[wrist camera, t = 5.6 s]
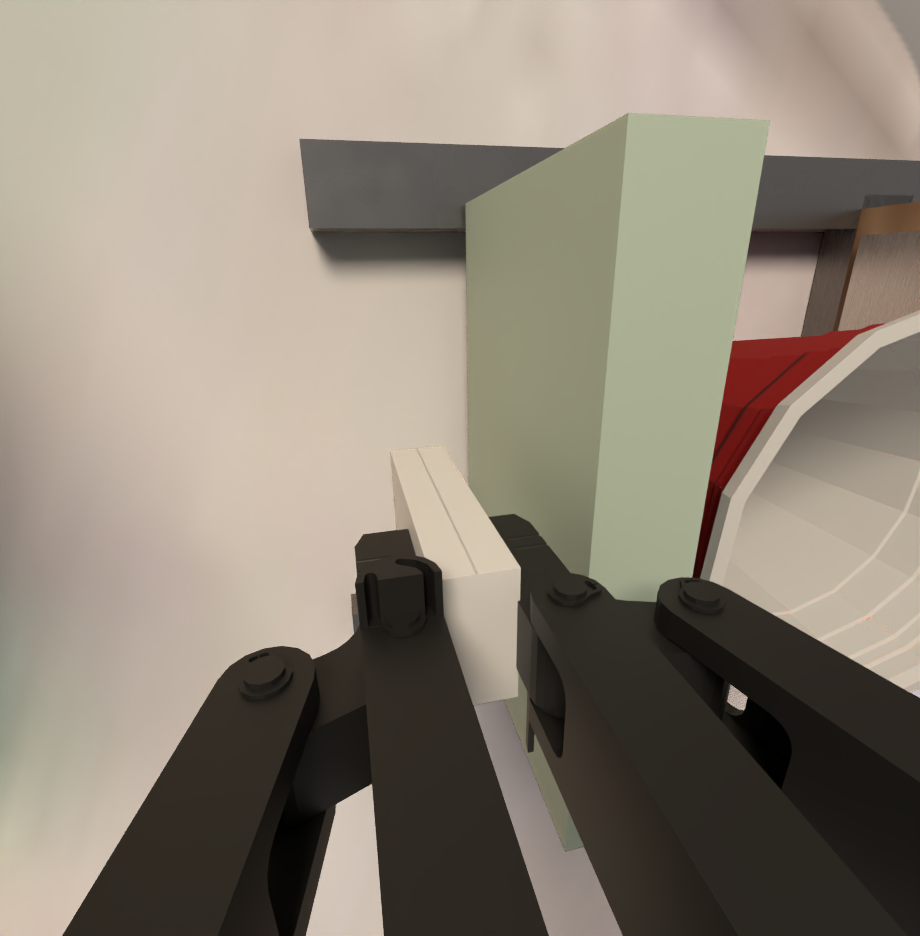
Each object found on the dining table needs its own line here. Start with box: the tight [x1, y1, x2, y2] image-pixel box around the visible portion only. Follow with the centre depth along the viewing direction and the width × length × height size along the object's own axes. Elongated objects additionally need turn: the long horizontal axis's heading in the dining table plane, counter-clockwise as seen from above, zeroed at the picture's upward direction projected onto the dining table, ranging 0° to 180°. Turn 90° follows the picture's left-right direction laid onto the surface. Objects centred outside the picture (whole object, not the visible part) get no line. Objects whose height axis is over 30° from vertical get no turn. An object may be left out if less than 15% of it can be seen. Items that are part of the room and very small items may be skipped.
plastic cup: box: [692, 310, 920, 693], centre depth 17 cm, size 11×11×12 cm
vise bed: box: [300, 139, 920, 634], centre depth 17 cm, size 25×19×12 cm
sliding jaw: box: [465, 113, 770, 852], centre depth 15 cm, size 3×16×10 cm, turn 1°
